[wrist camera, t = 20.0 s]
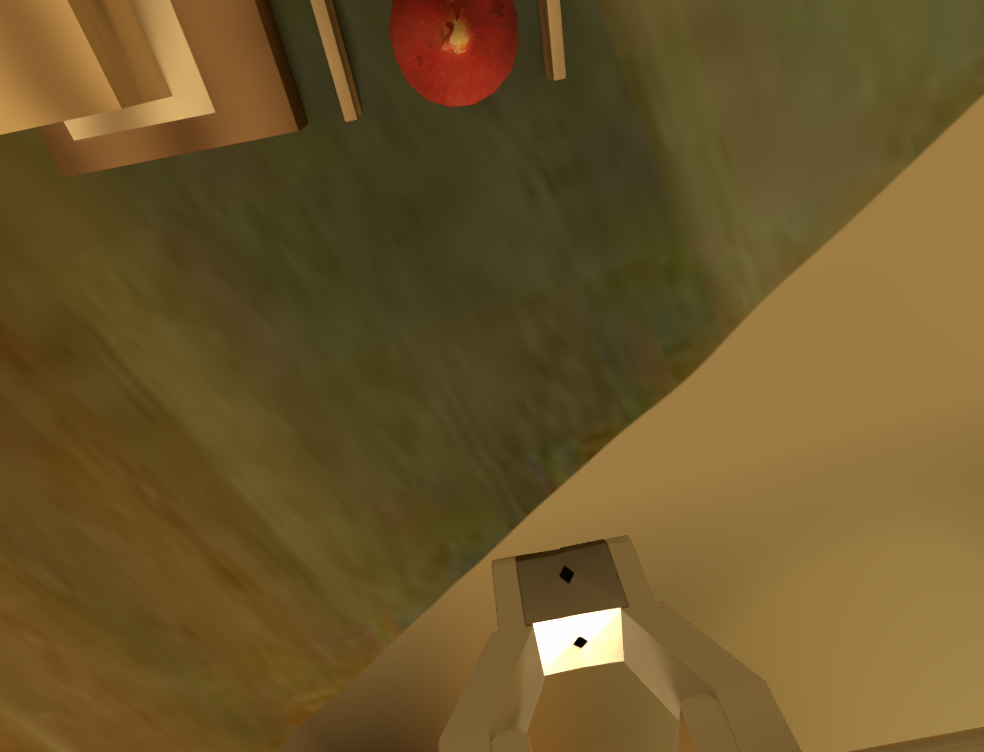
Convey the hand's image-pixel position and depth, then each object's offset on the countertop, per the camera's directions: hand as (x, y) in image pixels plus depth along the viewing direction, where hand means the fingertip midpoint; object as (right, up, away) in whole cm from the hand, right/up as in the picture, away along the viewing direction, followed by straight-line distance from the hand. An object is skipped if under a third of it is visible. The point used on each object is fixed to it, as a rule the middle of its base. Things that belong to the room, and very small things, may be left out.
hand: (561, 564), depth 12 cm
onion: (-4, +22, +16) cm, 27 cm away
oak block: (-20, +19, +12) cm, 30 cm away
